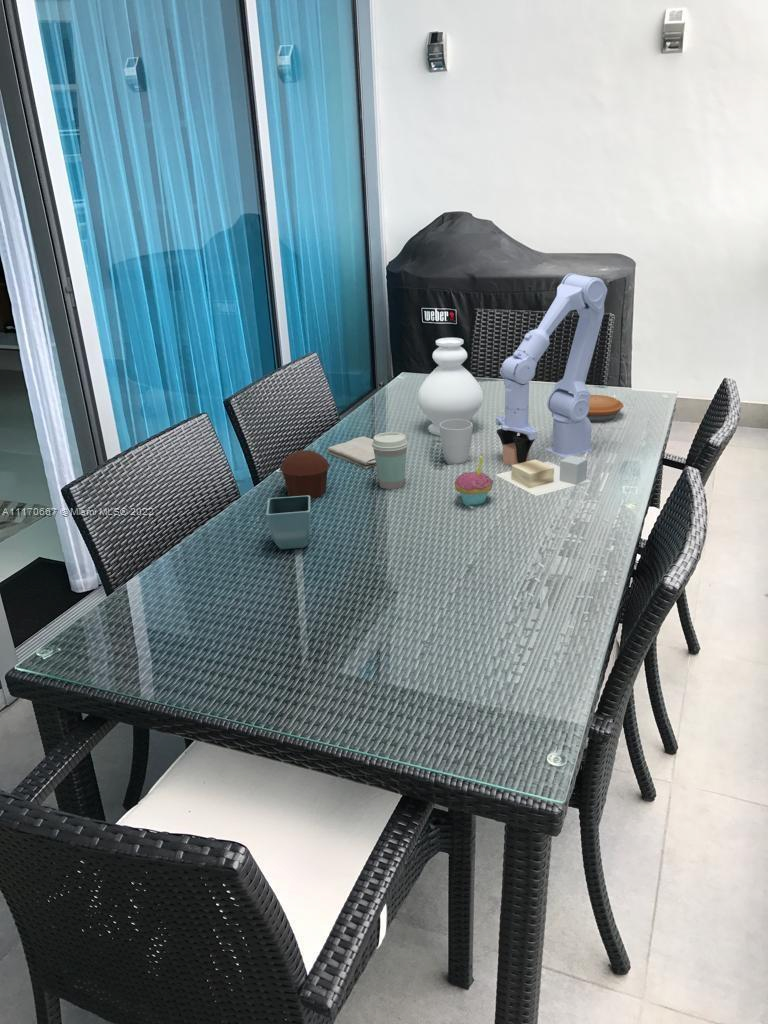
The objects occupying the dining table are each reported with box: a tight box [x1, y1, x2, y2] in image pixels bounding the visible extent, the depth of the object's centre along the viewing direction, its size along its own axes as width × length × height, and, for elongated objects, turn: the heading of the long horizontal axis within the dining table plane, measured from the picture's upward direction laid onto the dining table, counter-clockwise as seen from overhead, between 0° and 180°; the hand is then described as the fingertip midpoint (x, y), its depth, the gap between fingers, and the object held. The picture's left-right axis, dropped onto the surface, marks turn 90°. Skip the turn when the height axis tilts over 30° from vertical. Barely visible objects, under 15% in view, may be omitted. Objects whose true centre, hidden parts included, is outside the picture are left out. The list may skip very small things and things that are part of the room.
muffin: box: [279, 449, 331, 501], centre depth 205 cm, size 12×11×10 cm
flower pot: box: [265, 495, 311, 550], centre depth 180 cm, size 9×9×9 cm
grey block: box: [559, 455, 588, 486], centre depth 204 cm, size 4×4×5 cm
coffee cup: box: [372, 431, 409, 490], centre depth 207 cm, size 8×9×12 cm
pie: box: [586, 394, 624, 423], centre depth 250 cm, size 15×16×5 cm
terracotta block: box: [502, 442, 530, 467], centre depth 217 cm, size 4×4×5 cm
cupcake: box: [454, 453, 494, 507], centre depth 195 cm, size 9×8×12 cm
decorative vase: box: [417, 337, 484, 437], centre depth 240 cm, size 18×18×25 cm
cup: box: [440, 419, 473, 466], centre depth 219 cm, size 8×8×10 cm
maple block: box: [511, 459, 554, 488], centre depth 205 cm, size 7×7×4 cm
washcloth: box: [326, 436, 377, 470], centre depth 228 cm, size 12×18×3 cm, turn 41°
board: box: [495, 461, 591, 497], centre depth 208 cm, size 16×16×1 cm
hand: (515, 459), depth 217 cm, fingers closed on terracotta block, 4 cm apart
